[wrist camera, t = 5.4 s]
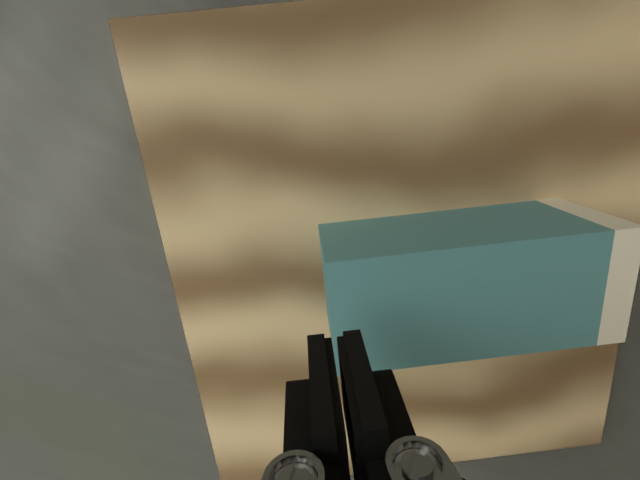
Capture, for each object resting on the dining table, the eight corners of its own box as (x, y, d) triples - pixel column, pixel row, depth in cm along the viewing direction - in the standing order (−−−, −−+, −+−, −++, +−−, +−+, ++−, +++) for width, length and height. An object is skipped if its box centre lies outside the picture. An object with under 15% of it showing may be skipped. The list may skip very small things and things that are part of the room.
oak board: (121, 25, 17) (107, 19, 15) (662, -28, 17) (688, -37, 16) (226, 473, 25) (223, 490, 24) (587, 428, 26) (600, 443, 24)
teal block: (325, 263, 14) (646, 226, 14) (317, 224, 19) (559, 197, 19) (336, 376, 16) (625, 342, 16) (327, 314, 20) (549, 288, 21)
